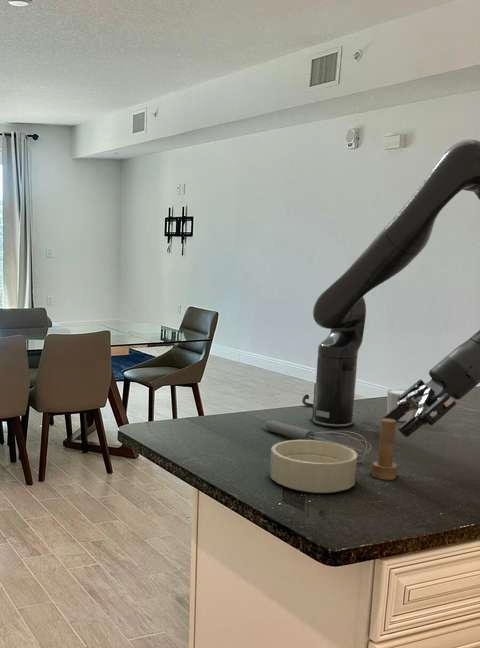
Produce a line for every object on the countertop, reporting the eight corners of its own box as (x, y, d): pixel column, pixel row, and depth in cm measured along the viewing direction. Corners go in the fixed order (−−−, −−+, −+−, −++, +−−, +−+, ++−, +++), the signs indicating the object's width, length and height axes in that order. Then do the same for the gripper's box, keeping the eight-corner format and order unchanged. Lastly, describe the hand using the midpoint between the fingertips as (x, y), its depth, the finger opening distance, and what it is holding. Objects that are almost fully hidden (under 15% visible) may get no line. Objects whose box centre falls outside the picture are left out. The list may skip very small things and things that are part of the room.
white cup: (418, 421, 177) (421, 394, 176) (391, 422, 177) (394, 394, 176) (406, 414, 184) (409, 388, 182) (380, 415, 184) (382, 389, 182)
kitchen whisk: (273, 426, 174) (274, 402, 173) (377, 467, 144) (379, 437, 142) (252, 429, 172) (254, 404, 170) (353, 471, 142) (356, 441, 140)
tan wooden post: (367, 473, 140) (371, 418, 137) (386, 471, 141) (391, 416, 138) (380, 480, 136) (386, 423, 133) (400, 478, 137) (406, 422, 134)
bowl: (256, 471, 142) (257, 442, 141) (326, 465, 145) (328, 437, 144) (294, 498, 127) (296, 467, 126) (372, 491, 130) (374, 460, 129)
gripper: (434, 349, 139) (369, 405, 142) (466, 362, 125) (393, 423, 129) (459, 375, 139) (394, 431, 143) (494, 391, 126) (421, 451, 129)
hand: (394, 427), depth 136 cm, fingers open, 8 cm apart
